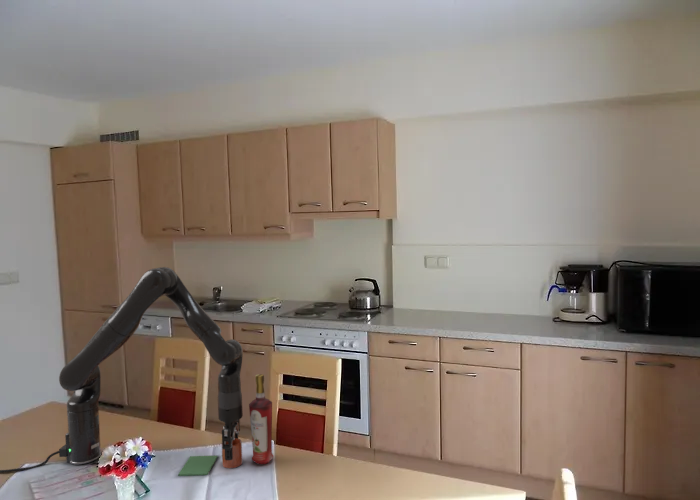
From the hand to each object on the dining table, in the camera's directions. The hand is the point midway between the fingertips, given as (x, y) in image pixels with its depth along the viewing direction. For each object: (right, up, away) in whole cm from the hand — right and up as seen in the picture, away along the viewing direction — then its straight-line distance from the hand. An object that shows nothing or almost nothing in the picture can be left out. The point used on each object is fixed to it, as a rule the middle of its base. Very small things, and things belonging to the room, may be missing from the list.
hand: (232, 453), depth 159 cm
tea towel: (-10, -4, -1) cm, 11 cm away
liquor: (+10, -3, +1) cm, 10 cm away
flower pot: (0, -3, 0) cm, 3 cm away
